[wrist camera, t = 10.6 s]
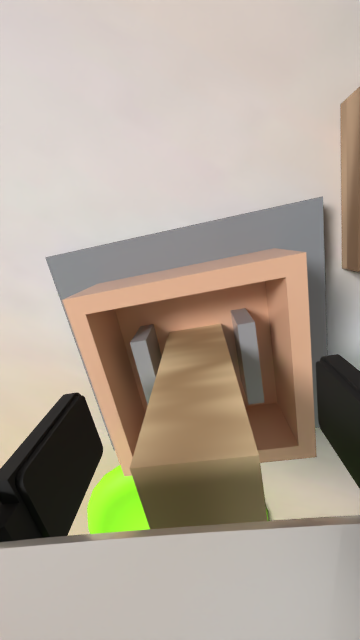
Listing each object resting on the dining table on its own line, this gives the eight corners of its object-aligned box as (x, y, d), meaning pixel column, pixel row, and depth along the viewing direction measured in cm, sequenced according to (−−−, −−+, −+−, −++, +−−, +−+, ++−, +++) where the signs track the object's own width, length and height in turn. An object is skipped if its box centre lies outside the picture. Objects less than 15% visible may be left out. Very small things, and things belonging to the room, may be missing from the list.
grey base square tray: (312, 199, 13) (378, 178, 9) (320, 413, 18) (369, 482, 13) (56, 256, 15) (-10, 264, 10) (118, 438, 19) (92, 506, 14)
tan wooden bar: (220, 323, 14) (259, 454, 6) (228, 370, 15) (270, 545, 6) (168, 332, 14) (129, 468, 6) (179, 377, 15) (157, 552, 7)
